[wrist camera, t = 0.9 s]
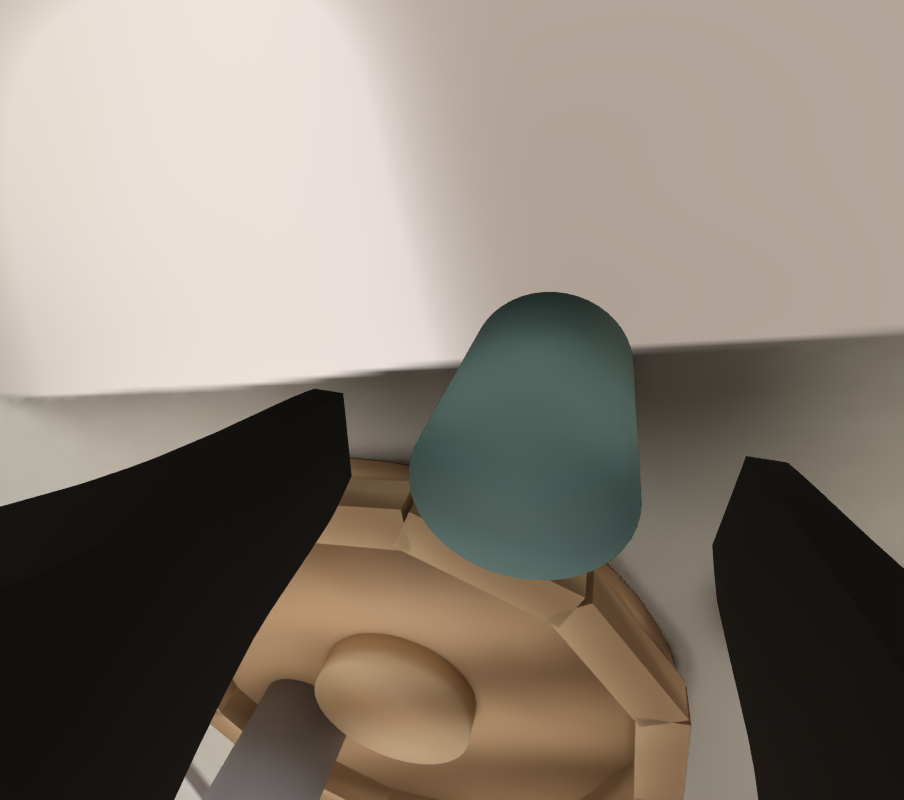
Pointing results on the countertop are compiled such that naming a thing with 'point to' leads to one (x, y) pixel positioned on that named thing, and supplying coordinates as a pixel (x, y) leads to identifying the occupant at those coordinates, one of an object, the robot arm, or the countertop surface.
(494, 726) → the tray
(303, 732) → the bead charcoal
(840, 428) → the countertop surface
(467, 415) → the bead teal
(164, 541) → the robot arm
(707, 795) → the countertop surface
